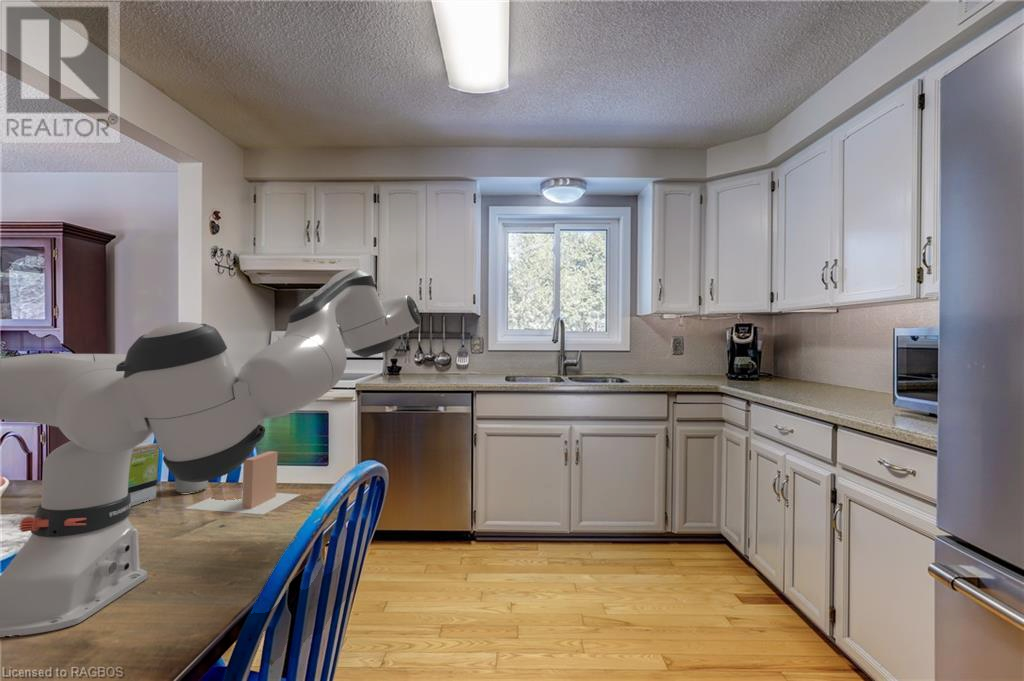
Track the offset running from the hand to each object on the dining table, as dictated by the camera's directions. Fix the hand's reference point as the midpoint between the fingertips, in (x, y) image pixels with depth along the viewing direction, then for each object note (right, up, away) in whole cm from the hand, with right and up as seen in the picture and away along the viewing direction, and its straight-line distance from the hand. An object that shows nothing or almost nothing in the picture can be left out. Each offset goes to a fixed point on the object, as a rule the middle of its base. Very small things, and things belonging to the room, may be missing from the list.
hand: (308, 345), depth 116 cm
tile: (-16, -40, +8) cm, 44 cm away
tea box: (-50, -40, +4) cm, 64 cm away
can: (-40, -41, +17) cm, 59 cm away
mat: (-20, -41, +9) cm, 46 cm away
